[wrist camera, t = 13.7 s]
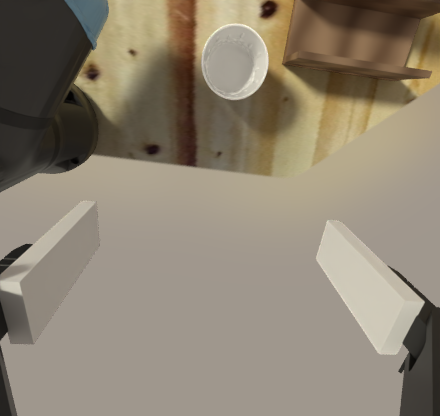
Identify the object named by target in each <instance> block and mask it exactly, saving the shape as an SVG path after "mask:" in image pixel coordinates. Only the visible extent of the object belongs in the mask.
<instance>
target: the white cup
mask: <svg viewBox="0 0 440 416" xmlns="http://www.w3.org/2000/svg"><path fill="white" fill-rule="evenodd" d="M268 63H269V60H268V52H267V48H266V45H265V43H264V41H263V39H262V38H261V36H260V35H259V34H258V33H257V32H256V31H255V30H253V29H252V28H250V27H248V26H246V25H243V24H228V25H225V26H223V27H221V28H219V29H217V30H216V31H215V32H214V33H213V34H212V35H211V36H210V37H209V39H208V40H207V42H206V44H205V46H204V49H203V52H202V59H201V67H202V73H203V76H204V79H205V81H206V83H207V85H208V86H209V87H210V89H211V90H212V91H213V92H214V93H216V94H217V95H218V96H220V97H222V98H225V99H228V100H240V99H244V98H246V97H249V96H250V95H252V94H253V93H255V92H256V91H257V90H258V89H259V87H260V86H261V85H262V83H263V81H264V79H265V77H266V74H267V71H268Z"/></svg>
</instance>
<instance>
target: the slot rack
mask: <svg viewBox="0 0 440 416" xmlns="http://www.w3.org/2000/svg"><path fill="white" fill-rule="evenodd" d="M437 13H440V0H294V5H293V10H292V16H291V21H290V26H289V31H288V36H287V42H286V47H285V52H284V57H283V62H282V64H284V65H291V66H297V67H304V68H310V69H317V70H324V71H330V72H337V73H344V74H350V75H357V76H364V77H370V78H377V79H383V80H390V81H399V80H405V79H422V78H430V76H431V73H432V71H427V70H421V69H414V68H408V67H404V65H405V62H406V59H407V56H408V53H409V51H410V48H411V45H412V42H413V39H414V36H415V34H416V31H417V28H418V25H419V22H420V19H422V18H425V17H428V16H431V15H434V14H437Z"/></svg>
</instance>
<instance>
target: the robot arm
mask: <svg viewBox="0 0 440 416" xmlns="http://www.w3.org/2000/svg"><path fill="white" fill-rule="evenodd" d="M108 13H109V7H108V1H107V0H0V192H2V191H4V190H6V189H8V188H9V187H12V186H14V185H15V184H17V183H20V182H21V181H23V180H25V179H27V178H29V177H31V176H33V175H35V174H37V173H47V174H56V173H62V172H66V171H69V170H72V169H74V168H76V167H77V166H79V165H81V164H82V163H84V162H85V161H86V160H87V159H88V158H89V157H90V156H91V154H92V153H93V151H94V149H95V147H96V144H97V139H98V124H97V119H96V116H95V113H94V110H93V108H92V106H91V104H90V102H89V101H88V99H87V98H86V97H85V95H84V94H83V93H82V92H81V91H80V89H78V88H77V87H76V86H75V85H74V84H73V83H74V82H75V80H76V78H77V76H78V74H79V72H80V70H81V69H82V67H83V65H84V63H85V61H86V59H87V57H88V56H89V54H90V52H91V50H95V49H96V46H97V43H96V41H97V39H98V37H99V35H100V32H101V30H102V28H103V26H104V24H105V22H106V20H107V17H108ZM99 246H100V241H99V227H98V214H97V202H93V201H81V202H80V203H79V204H77V206H75V207H74V208H73V209H72V210H71V211H70V212H69V213H68V214H66V215H65V216H64V217H63V218H62V219H61V220H60V221H59V222H58V223H57V224H55V225H54V226H53V227H52V228H51V229H50V230H49V231H48V232H47V233H46V234H44V235H43V236H42V237H41V238H40V239H39V240H38V241H37V242H36V243H34V244H25V245H23V246H21V247H19V248H16V249H14V250H13V251H11V252H10V253H9V254H8V255H7V256H5V257H4V259H2V260H1V261H0V340H1V339H2V338H3V337H4V335H5V334H6V333H7V332H8V335H9V339H10V343H11V344H34V343H35V342H36V340H37V339H38V337H39V336H40V334H41V333H42V331H43V330H44V328H45V327H46V325H47V324H48V322H49V321H50V319H51V318H52V316H53V315H54V313H55V312H56V310H57V309H58V307H59V306H60V304H61V303H62V301H63V300H64V298H65V297H66V295H67V294H68V292H69V291H70V289H71V288H72V286H73V285H74V283H75V282H76V280H77V279H78V277H79V276H80V274H81V273H82V271H83V270H84V268H85V267H86V265H87V264H88V262H89V261H90V259H91V258H92V256H93V255H94V253H95V252H96V250H97V249H98V247H99ZM316 260H317V262H318V263H319V265H320V266H321V268H322V269H323V270H324V272H325V274H326V275H327V276H328V278H329V280H330V281H331V283H332V284H333V286H334V287H335V289H336V290H337V292H338V293H339V295H340V296H341V298H342V299H343V301H344V302H345V304H346V305H347V307H348V308H349V310H350V311H351V313H352V314H353V316H354V317H355V318H356V320H357V322H358V323H359V325H360V326H361V328H362V329H363V330H364V332H365V334H366V335H367V337H368V338H369V340H370V341H371V343H372V344H373V346H374V347H375V349H376V350H377V352H378V353H379V354H393V355H395V354H397V353H398V351H399V349H400V347H401V346H402V344H404V345H405V347H406V348H407V349H408V351H409V353H408V355H407V357H406V359H405V360H404V362H403V364H402V366H401V368H400V369H399V372H400V373H402V372H403V370H404V378H403V388H402V398H401V407H400V416H440V308H439V307H435V305H433V304H432V303H431V302H430V301H429V300H428V299H427V298H426V297H425V296H424V295H423V294H422V293H421V292H419V291H418V290H417V289H416V288H414V286H413V285H412V284H411V283H410V282H409V281H407V279H406V278H404V277H403V276H402V275H401V274H400V273H399V272H398V271H396V270H394V269H392V268H391V267H389V266H387V265H386V264H385V263H384V262H382V261H381V260H380V259H379V258H378V257H377V256H376V255H375V254H374V253H373V252H372V251H371V250H370V249H369V248H368V247H367V246H366V245H365V244H364V243H363V242H362V241H360V240H359V239H358V238H357V237H356V236H355V235H354V234H353V233H352V232H351V231H350V230H349V229H348V228H347V227H346V226H345V225H344V224H343V223H342V222H341V221H336V220H328V221H327V223H326V227H325V230H324V233H323V237H322V240H321V243H320V247H319V250H318V253H317V257H316ZM0 416H17V413H16V408H15V404H14V400H13V396H12V392H11V387H10V383H9V379H8V375H7V371H6V367H5V362H4V358H3V354H2V350H1V346H0Z"/></svg>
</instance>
